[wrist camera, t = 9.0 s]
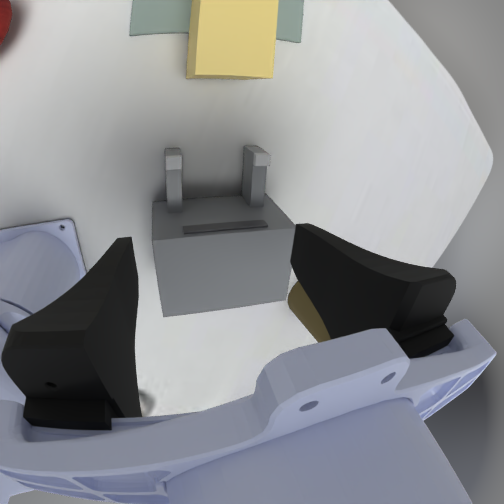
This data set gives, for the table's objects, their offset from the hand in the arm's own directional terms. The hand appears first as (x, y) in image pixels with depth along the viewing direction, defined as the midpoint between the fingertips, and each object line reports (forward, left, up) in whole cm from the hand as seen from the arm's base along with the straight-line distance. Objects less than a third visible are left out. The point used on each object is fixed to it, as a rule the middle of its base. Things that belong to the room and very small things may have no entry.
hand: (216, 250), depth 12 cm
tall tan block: (+2, +11, -10) cm, 15 cm away
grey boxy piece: (+2, -3, -10) cm, 11 cm away
